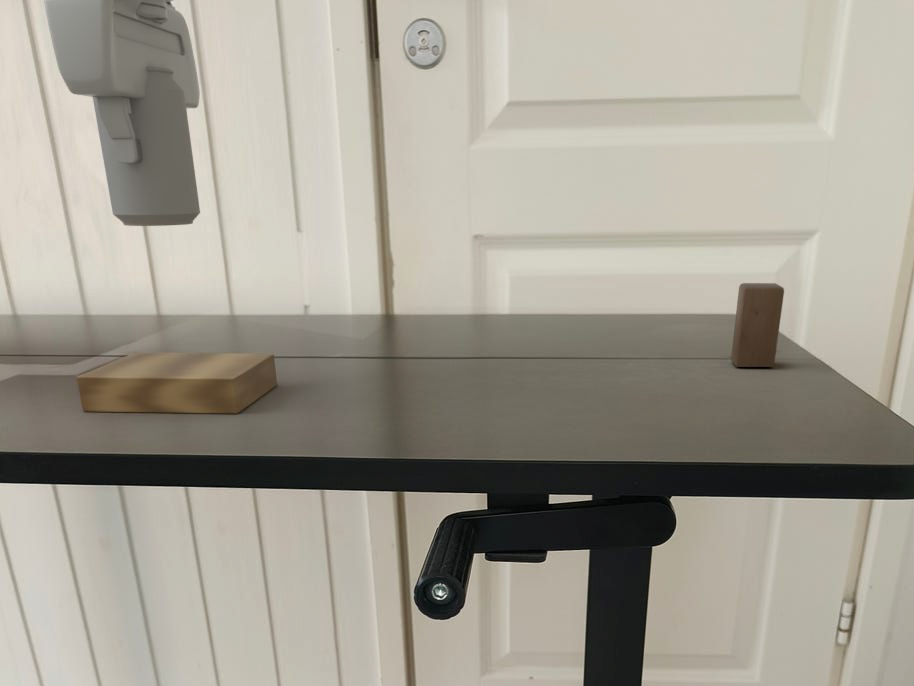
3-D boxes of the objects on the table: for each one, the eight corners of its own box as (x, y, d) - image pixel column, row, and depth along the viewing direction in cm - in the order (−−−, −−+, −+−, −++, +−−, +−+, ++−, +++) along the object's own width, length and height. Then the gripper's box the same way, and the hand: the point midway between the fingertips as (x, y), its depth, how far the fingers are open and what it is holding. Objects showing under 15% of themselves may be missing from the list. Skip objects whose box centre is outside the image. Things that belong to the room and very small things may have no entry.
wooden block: (735, 368, 95) (744, 287, 92) (730, 361, 99) (739, 282, 95) (774, 369, 95) (785, 287, 91) (767, 361, 99) (778, 282, 95)
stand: (82, 411, 80) (75, 376, 79) (140, 383, 91) (134, 352, 89) (237, 414, 79) (233, 378, 78) (277, 385, 90) (274, 353, 88)
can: (141, 227, 77) (114, 60, 72) (98, 224, 82) (70, 67, 76) (218, 223, 82) (198, 67, 77) (173, 221, 87) (151, 73, 81)
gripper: (136, -7, 83) (162, 164, 89) (16, -57, 65) (59, 163, 71) (204, -9, 82) (225, 163, 89) (101, -60, 64) (137, 162, 71)
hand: (150, 163), depth 80 cm, fingers closed on can, 7 cm apart
